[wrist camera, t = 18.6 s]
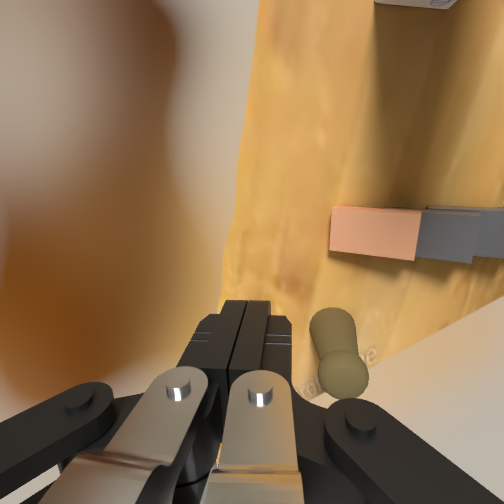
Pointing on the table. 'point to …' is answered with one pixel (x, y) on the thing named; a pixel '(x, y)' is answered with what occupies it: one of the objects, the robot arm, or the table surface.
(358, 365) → the olive green pawn
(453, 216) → the domino
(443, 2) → the string lights box
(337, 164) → the table surface
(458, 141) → the table surface
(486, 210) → the domino
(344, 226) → the domino
